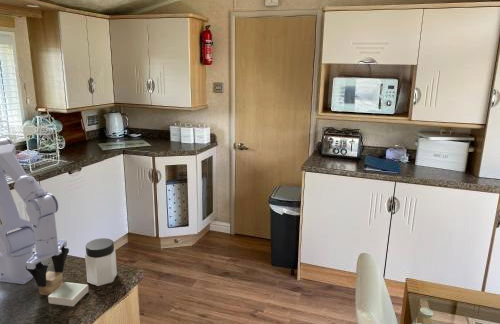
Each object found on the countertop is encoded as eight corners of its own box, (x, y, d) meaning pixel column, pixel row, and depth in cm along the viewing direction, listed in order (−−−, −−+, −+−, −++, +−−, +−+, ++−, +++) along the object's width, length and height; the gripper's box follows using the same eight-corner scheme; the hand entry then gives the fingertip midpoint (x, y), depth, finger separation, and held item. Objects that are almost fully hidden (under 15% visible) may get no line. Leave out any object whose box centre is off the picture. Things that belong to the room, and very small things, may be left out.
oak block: (39, 294, 109) (38, 279, 108) (50, 285, 114) (48, 271, 112) (53, 296, 109) (52, 280, 107) (63, 287, 113) (62, 272, 112)
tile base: (48, 303, 105) (47, 296, 104) (65, 288, 112) (64, 281, 112) (73, 306, 104) (72, 299, 103) (88, 291, 111) (87, 284, 111)
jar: (90, 289, 112) (86, 252, 109) (84, 276, 119) (81, 242, 116) (120, 280, 117) (118, 245, 114) (113, 269, 124) (111, 235, 121)
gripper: (40, 249, 99) (46, 294, 102) (74, 227, 113) (78, 267, 116) (17, 246, 100) (23, 291, 104) (52, 225, 114) (57, 265, 117)
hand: (50, 279), depth 110 cm, fingers open, 7 cm apart
